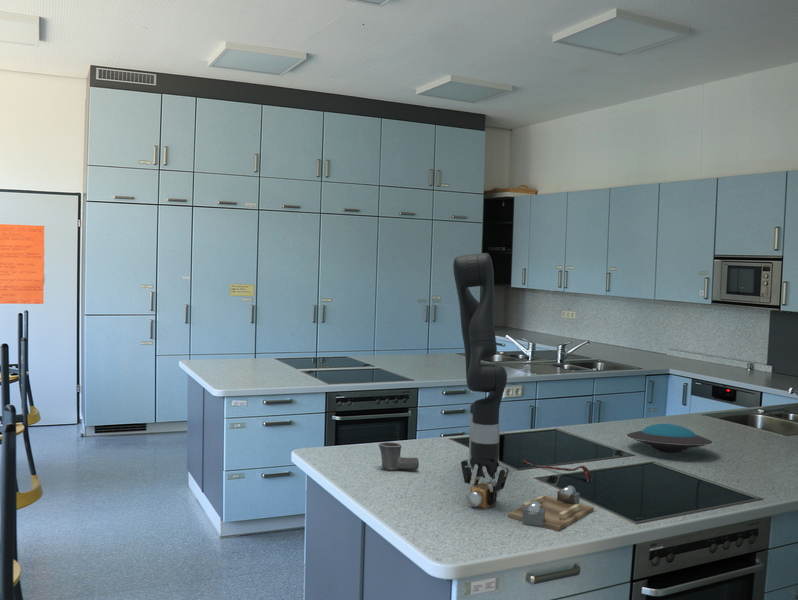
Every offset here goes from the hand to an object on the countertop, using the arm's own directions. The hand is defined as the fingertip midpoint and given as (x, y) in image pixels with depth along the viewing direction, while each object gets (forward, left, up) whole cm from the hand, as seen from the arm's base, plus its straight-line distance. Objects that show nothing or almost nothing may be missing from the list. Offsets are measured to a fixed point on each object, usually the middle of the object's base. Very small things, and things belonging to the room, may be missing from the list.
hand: (483, 502), depth 183 cm
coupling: (0, 0, -1) cm, 1 cm away
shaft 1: (+3, +17, -1) cm, 17 cm away
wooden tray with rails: (-6, +17, -1) cm, 18 cm away
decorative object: (-95, +17, -1) cm, 97 cm away
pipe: (-9, -37, -1) cm, 39 cm away
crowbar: (-42, 0, -1) cm, 42 cm away
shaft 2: (-16, +17, -1) cm, 23 cm away
